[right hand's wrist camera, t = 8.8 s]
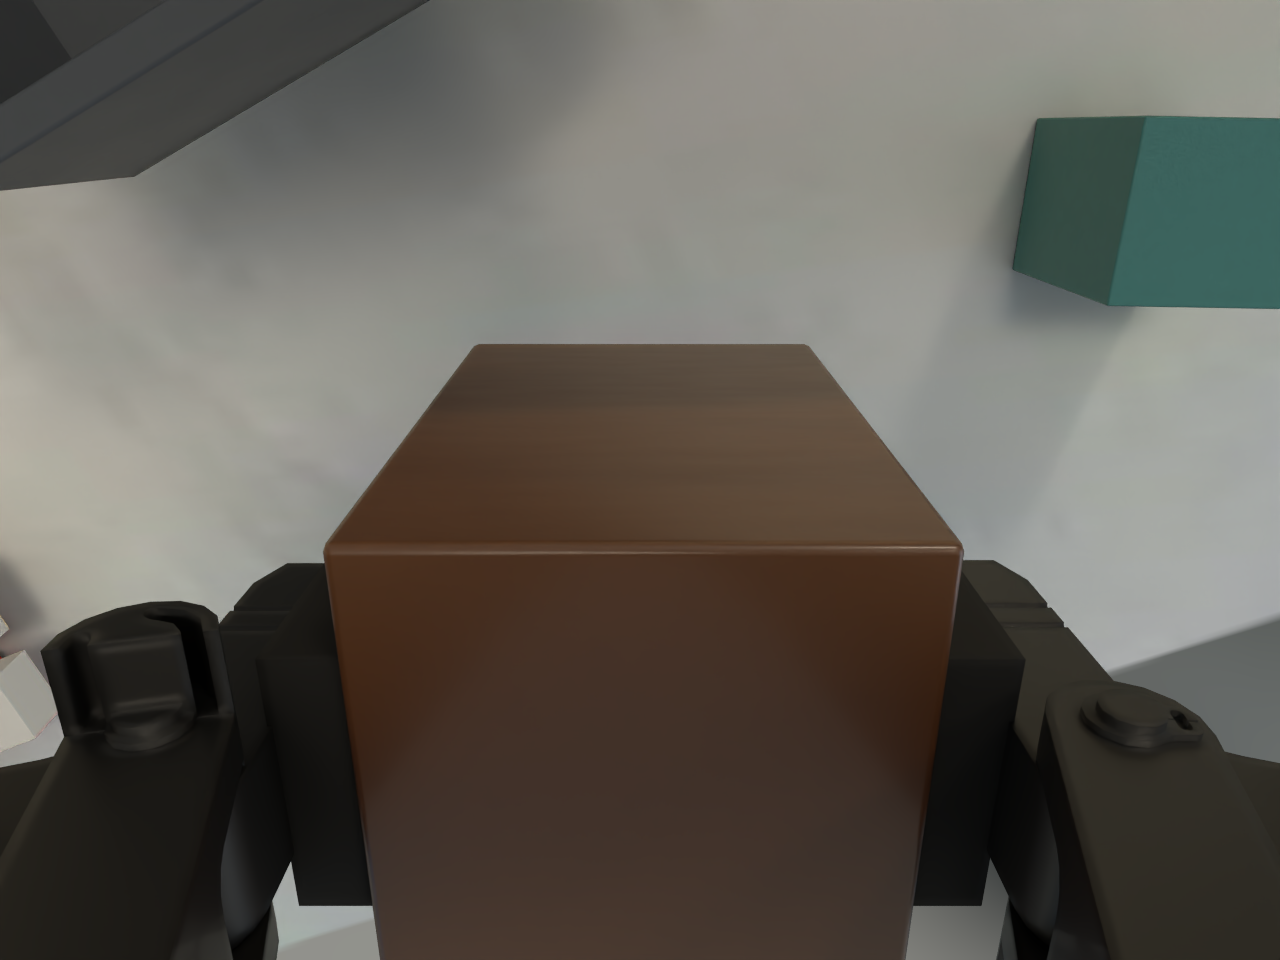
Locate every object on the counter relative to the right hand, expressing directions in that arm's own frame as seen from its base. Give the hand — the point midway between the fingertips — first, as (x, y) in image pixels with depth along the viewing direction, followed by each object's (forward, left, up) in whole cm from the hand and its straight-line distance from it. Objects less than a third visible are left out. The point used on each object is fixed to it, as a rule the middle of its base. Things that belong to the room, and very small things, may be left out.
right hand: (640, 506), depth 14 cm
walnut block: (0, 0, 0) cm, 0 cm away
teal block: (-11, +12, -20) cm, 25 cm away
